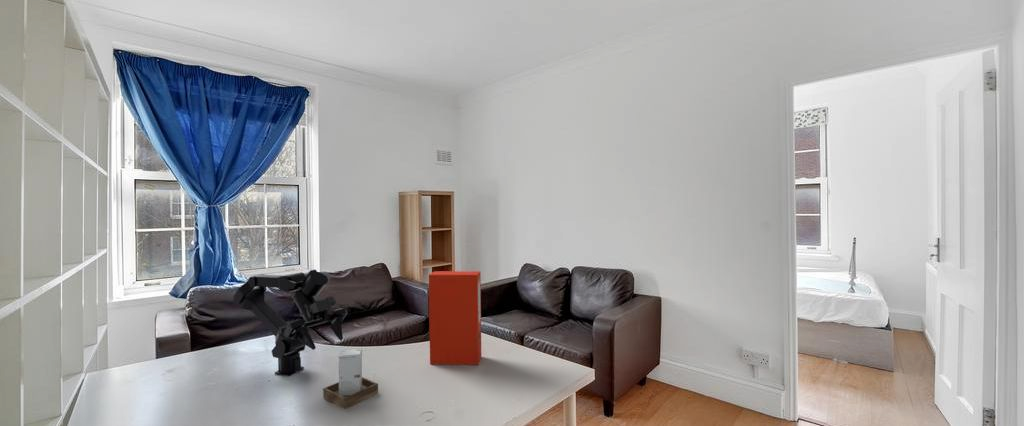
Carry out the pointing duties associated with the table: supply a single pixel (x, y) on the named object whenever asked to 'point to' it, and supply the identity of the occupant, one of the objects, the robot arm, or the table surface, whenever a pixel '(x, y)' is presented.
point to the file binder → (455, 317)
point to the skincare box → (350, 372)
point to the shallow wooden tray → (347, 401)
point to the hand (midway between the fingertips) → (328, 344)
